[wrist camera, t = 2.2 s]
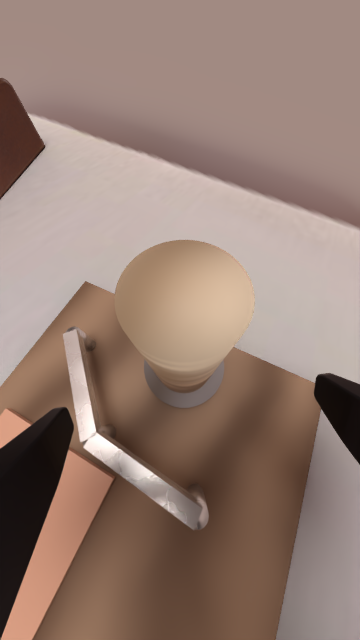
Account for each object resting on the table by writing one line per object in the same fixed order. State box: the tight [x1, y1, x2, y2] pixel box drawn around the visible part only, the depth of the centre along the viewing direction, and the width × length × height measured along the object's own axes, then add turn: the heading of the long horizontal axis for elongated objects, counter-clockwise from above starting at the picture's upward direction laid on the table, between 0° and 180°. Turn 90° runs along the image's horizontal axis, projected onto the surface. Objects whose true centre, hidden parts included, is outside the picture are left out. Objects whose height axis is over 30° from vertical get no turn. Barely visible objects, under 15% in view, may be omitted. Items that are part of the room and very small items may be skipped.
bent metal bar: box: [63, 327, 209, 530], centre depth 14 cm, size 15×4×4 cm, turn 41°
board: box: [0, 281, 321, 640], centre depth 15 cm, size 24×23×1 cm
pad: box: [0, 408, 115, 640], centre depth 13 cm, size 10×10×1 cm
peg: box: [115, 240, 255, 408], centre depth 12 cm, size 6×6×12 cm
